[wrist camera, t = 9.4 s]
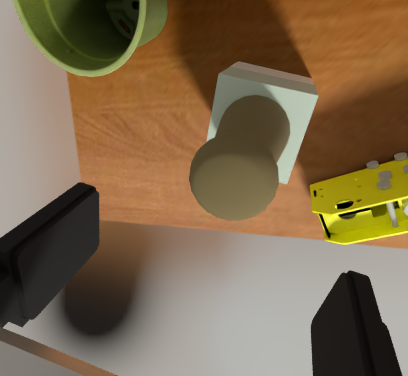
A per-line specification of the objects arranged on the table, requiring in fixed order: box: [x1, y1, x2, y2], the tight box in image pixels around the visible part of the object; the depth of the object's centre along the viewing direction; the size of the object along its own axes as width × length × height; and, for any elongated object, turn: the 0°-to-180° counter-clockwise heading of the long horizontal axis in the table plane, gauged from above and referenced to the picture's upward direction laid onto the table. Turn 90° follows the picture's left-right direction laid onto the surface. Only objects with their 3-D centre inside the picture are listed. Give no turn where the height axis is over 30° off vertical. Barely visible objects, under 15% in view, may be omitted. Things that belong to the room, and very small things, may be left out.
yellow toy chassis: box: [310, 152, 408, 245], centre depth 30 cm, size 16×6×8 cm, turn 117°
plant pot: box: [13, 0, 168, 77], centre depth 27 cm, size 12×12×11 cm
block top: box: [207, 67, 319, 184], centre depth 27 cm, size 8×8×5 cm
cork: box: [189, 95, 290, 221], centre depth 20 cm, size 6×6×11 cm
